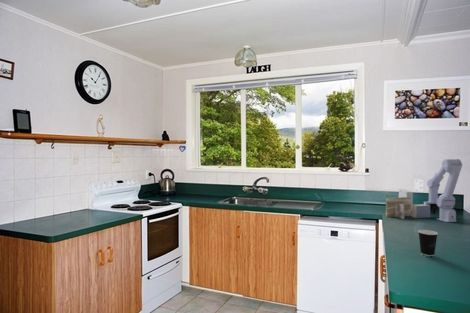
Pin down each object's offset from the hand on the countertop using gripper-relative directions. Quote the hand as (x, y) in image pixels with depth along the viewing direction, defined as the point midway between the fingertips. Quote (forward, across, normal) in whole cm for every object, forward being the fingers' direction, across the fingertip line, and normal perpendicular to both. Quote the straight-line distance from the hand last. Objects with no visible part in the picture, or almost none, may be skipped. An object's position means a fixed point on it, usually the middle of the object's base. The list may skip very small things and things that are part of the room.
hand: (433, 213), depth 232 cm
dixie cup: (+2, +75, +77) cm, 108 cm away
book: (+2, +11, 0) cm, 11 cm away
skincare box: (+2, -2, -32) cm, 32 cm away
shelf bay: (+2, +26, -1) cm, 26 cm away
